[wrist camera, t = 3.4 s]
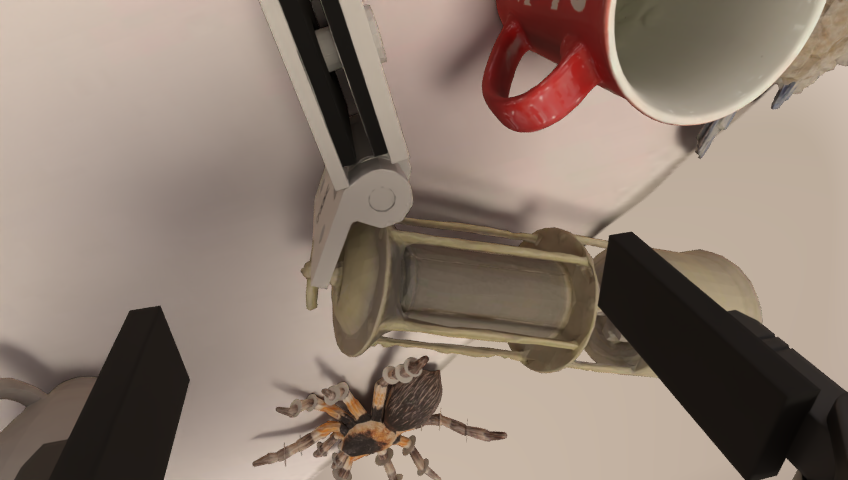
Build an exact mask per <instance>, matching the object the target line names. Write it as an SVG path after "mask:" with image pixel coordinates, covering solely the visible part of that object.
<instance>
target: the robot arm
mask: <svg viewBox="0 0 848 480" xmlns="http://www.w3.org/2000/svg"><path fill="white" fill-rule="evenodd" d="M598 307H599V308H600V309H601V310H602V312H603V313H604V314H605V315H606V316H607V317H608V319H609V320H610V321H611V322H612V323H613V325H614V326H615V327H616V328H617V329H618V330H619V332H620V333H621V334H622V335H623V336H624V338H625V339H626V340H627V341H628V342H629V343H630V345H631V346H632V347H633V348H634V349H635V351H636V352H637V353H638V354H639V355H640V356H641V358H642V359H643V360H644V361H645V362H646V364H647V365H648V366H649V367H650V368H651V369H652V371H653V372H654V373H655V374H656V375H657V377H658V378H659V379H660V380H661V381H662V382H663V384H664V385H665V386H666V387H667V388H668V389H669V391H670V392H671V393H672V394H673V395H674V396H675V398H676V399H677V400H678V401H679V402H680V404H681V405H682V406H683V407H684V408H685V410H686V411H687V412H688V413H689V414H690V415H691V417H692V418H693V419H694V420H695V421H696V423H697V424H698V425H699V426H700V427H701V428H702V429H703V430H704V432H705V433H706V434H707V436H708V437H709V438H710V439H711V440H712V441H713V442H714V444H715V445H716V446H717V447H718V449H719V450H720V451H721V452H722V453H723V454H724V456H725V457H726V458H727V459H728V460H729V462H730V463H731V464H732V465H733V466H734V467H735V469H736V470H737V471H738V472H739V473H740V474H741V476H742V477H743V478H744V479H745V480H761V479H765V478H769V477H772V476H777V474H778V472H779V470H780V468H781V466H782V465H783V462H784V461H785V459H786V458H787V459H788V460H789V461H790V462H791V463H792V464H793V465H794V466H795V467H796V468H797V469H798V470H797V472H796V474H795V476H794V478H793V480H848V392H847V391H845V390H844V389H842V388H841V387H840V386H839V385H838V384H836V383H835V382H834V381H833V380H831V379H830V378H829V377H828V376H826V375H825V374H824V373H822V372H821V371H820V370H819V369H817V368H816V367H815V366H814V365H813V364H811V363H810V362H809V361H808V360H806V359H805V358H804V357H802V356H801V355H800V354H799V353H798V352H796V351H795V350H794V349H793V348H792V349H790V348H789V346H788V344H786V343H785V342H784V341H783V340H781V339H780V338H779V337H775V334H774V333H772V332H771V331H770V330H769V329H768V328H766V327H765V326H764V325H762V324H761V323H760V322H759V321H758V320H756V319H754V318H752V317H750V316H747V315H745V314H743V313H741V312H739V311H737V310H731V311H726V310H725V309H724V308H723V307H721V306H720V305H719V304H718V303H717V302H715V301H714V300H713V299H712V298H711V297H709V296H708V295H707V294H706V293H705V292H703V291H702V290H701V289H700V288H699V287H697V286H696V285H695V284H694V283H693V282H691V281H690V280H689V279H688V278H687V277H685V276H684V275H683V274H682V273H681V272H679V271H678V270H677V269H676V268H675V267H673V266H672V265H671V264H670V263H669V262H667V261H666V260H665V259H664V258H663V257H661V256H660V255H659V254H658V253H657V252H655V251H654V250H653V249H652V248H651V247H649V246H648V245H647V244H646V243H645V242H643V241H642V240H641V239H640V238H639V237H638V236H636V235H635V234H634V233H633V232H627V233H620V234H614V235H610V236H609V240H608V246H607V252H606V258H605V264H604V270H603V276H602V282H601V288H600V294H599V300H598ZM189 381H190V379H189V376H188V374H187V371H186V369H185V366H184V364H183V361H182V359H181V356H180V354H179V351H178V349H177V346H176V344H175V341H174V339H173V336H172V334H171V331H170V328H169V326H168V323H167V321H166V318H165V316H164V313H163V311H162V308H161V306H155V307H149V308H142V309H136V310H130V311H129V313H128V315H127V317H126V319H125V321H124V324H123V326H122V328H121V330H120V332H119V334H118V336H117V338H116V340H115V342H114V344H113V346H112V349H111V351H110V353H109V355H108V357H107V359H106V361H105V363H104V365H103V367H102V369H101V371H100V373H99V376H98V378H97V380H96V382H95V384H94V386H93V388H92V390H91V392H90V394H89V396H88V398H87V401H86V403H85V405H84V407H83V409H82V411H81V413H80V415H79V417H78V419H77V421H76V423H75V426H74V428H73V430H72V432H71V434H70V436H69V438H68V439H66V440H61V441H55V442H50V443H45V444H43V445H42V446H41V447H40V448H39V449H38V450H37V451H36V452H35V453H34V454H33V455H32V456H31V457H30V458H29V459H28V460H27V461H26V462H25V463H24V465H23V466H22V467H21V468H20V470H19V472H18V473H17V475H16V477H15V479H14V480H164V476H165V473H166V469H167V465H168V461H169V457H170V453H171V450H172V446H173V442H174V438H175V434H176V430H177V427H178V423H179V419H180V415H181V411H182V407H183V404H184V400H185V396H186V392H187V388H188V384H189Z"/></svg>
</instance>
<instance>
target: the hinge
mask: <svg viewBox="0 0 848 480" xmlns="http://www.w3.org/2000/svg"><path fill="white" fill-rule="evenodd" d="M259 2H260V5H261V7H262V10H263V12H264V15H265V17H266V20H267V22H268V25H269V27H270V30H271V32H272V35H273V37H274V40H275V42H276V45H277V47H278V50H279V52H280V55H281V57H282V60H283V62H284V64H285V67H286V69H287V72H288V74H289V77H290V79H291V82H292V84H293V87H294V89H295V92H296V94H297V97H298V99H299V102H300V104H301V107H302V109H303V112H304V114H305V117H306V119H307V122H308V124H309V126H310V129H311V131H312V134H313V136H314V139H315V141H316V144H317V146H318V149H319V151H320V154H321V156H322V159H323V161H324V164H325V169H324V172H323V175H322V178H321V181H320V184H319V187H318V190H317V193H316V196H315V199H314V219H313V239H314V245H313V252H312V263H311V286H314V287H318V288H323V289H327V288H328V285H329V283H330V280H331V277H332V275H333V272H334V269H335V266H336V264H337V261H338V258H339V256H340V253H341V250H342V248H343V245H344V242H345V239H346V237H347V234H348V231H349V229H350V226H351V224H352V223H353V222H356V221H359V222H362V223H365V224H368V225H372V226H375V227H379V228H384V227H387V226H390V225H393V224H396V223H398V222H401V221H402V220H403V219H404V218H405V216H406V215H407V213H408V212H409V210H410V209H411V207H412V205H413V194H412V189H411V185H410V183H409V178H410V174H411V170H412V169H411V166H410V163H409V158H410V156H409V152H408V149H407V146H406V143H405V139H404V136H403V133H402V130H401V126H400V123H399V120H398V116H397V113H396V110H395V107H394V103H393V100H392V97H391V93H390V90H389V87H388V84H387V80H386V77H385V74H384V70H383V67H382V64H381V63H384V62H387V58H386V54H385V50H384V46H383V43H382V39H381V36H380V33H379V29H378V26H377V23H376V20H375V17H374V14H373V12H372V9H371V7H370V5H367V6H364V5H363V2H362V0H320V2H321V5H322V8H323V11H324V14H325V17H326V20H327V22H328V25H329V26H327V27H324V28H321V29H320V27H319V25H318V22H317V19H316V16H315V13H314V11H313V8H312V5H311V2H310V0H259ZM341 68H343V69H344V72H345V75H346V77H347V80H348V83H349V86H350V89H351V92H352V95H353V98H354V101H355V104H356V106H357V109H358V112H359V114H357V115H354V116H351V117H350V118H349V113H348V107H347V104H346V101H345V98H344V95H343V92H342V89H341V87H340V84H339V81H338V78H337V75H336V73H335V70H338V69H341ZM312 242H313V241H312Z"/></svg>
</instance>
